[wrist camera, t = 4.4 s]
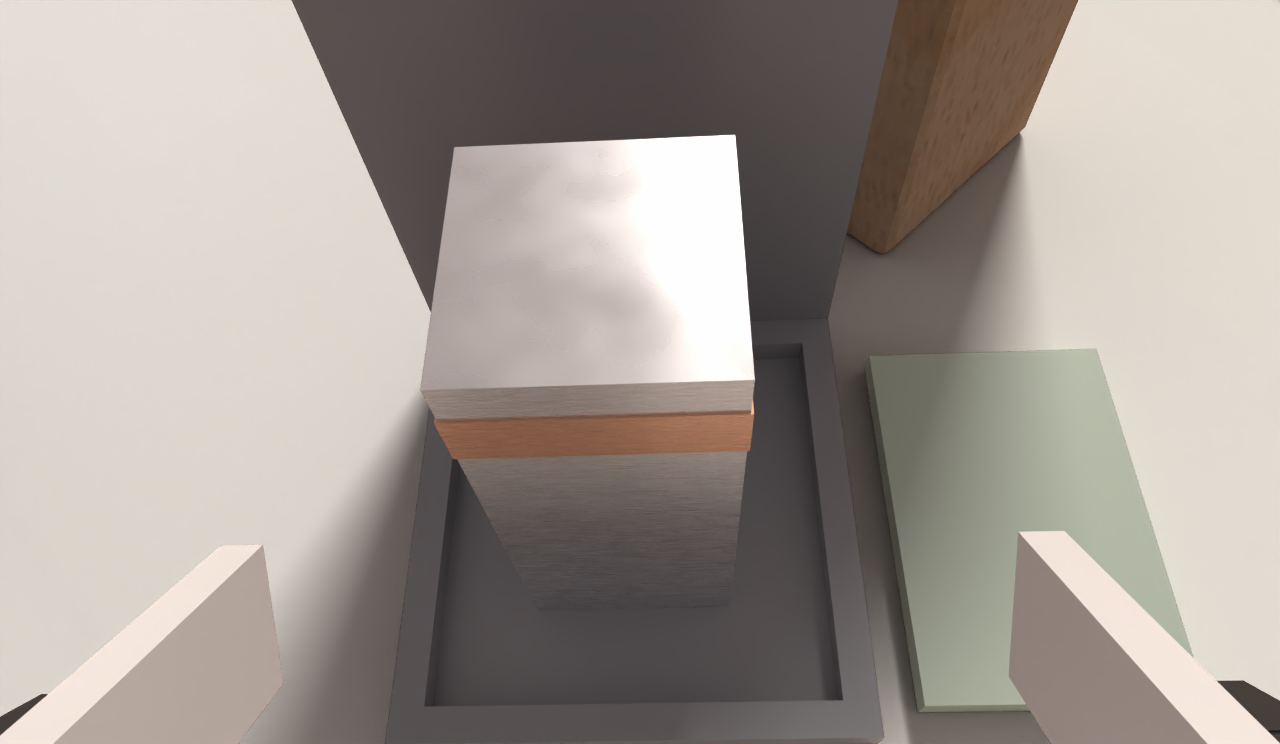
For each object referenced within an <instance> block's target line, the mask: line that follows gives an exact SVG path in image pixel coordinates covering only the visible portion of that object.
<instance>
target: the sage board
mask: <svg viewBox="0 0 1280 744" xmlns="http://www.w3.org/2000/svg"><path fill="white" fill-rule="evenodd" d="M865 374H866V381H867V387H868V394H869V400H870V406H871V413H872V419H873V426H874V432H875V439H876V445H877V452H878V458H879V465H880V471H881V477H882V484H883V490H884V497H885V503H886V510H887V516H888V523H889V529H890V535H891V542H892V548H893V555H894V561H895V568H896V574H897V581H898V587H899V594H900V600H901V606H902V613H903V619H904V626H905V632H906V639H907V645H908V652H909V658H910V664H911V671H912V677H913V684H914V690H915V697H916V703H917V710H918V712H973V711H1030V710H1029V708H1028V706H1027V705H1026V703H1025V702H1024V700H1023V699H1022V697H1021V695H1020V694H1019V692H1018V691H1017V689H1016V687H1015V686H1014V684H1013V683H1012V681H1011V679H1010V678H1009V661H1010V646H1011V631H1012V616H1013V602H1014V587H1015V572H1016V557H1017V543H1018V532H1031V531H1065V532H1066V533H1067V534H1068V535H1069V536H1070V537H1071V538H1072V539H1073V540H1074V541H1075V542H1076V543H1077V544H1078V545H1079V546H1080V547H1081V548H1082V549H1083V550H1084V551H1085V552H1086V553H1087V554H1088V555H1089V556H1090V557H1091V558H1092V559H1093V560H1094V561H1095V562H1096V563H1097V564H1098V565H1099V566H1100V567H1101V568H1102V569H1103V570H1104V571H1106V572H1107V573H1108V574H1109V575H1110V576H1111V577H1112V578H1113V579H1114V580H1115V581H1116V582H1117V583H1118V584H1119V585H1120V586H1121V587H1122V588H1123V589H1124V590H1125V591H1126V592H1127V593H1128V594H1129V595H1130V596H1131V597H1132V598H1133V599H1134V600H1135V601H1136V602H1137V603H1138V604H1139V605H1140V606H1141V607H1142V608H1143V609H1144V610H1145V611H1146V612H1147V613H1148V614H1149V615H1150V616H1151V617H1152V618H1153V619H1154V620H1155V621H1156V622H1157V623H1158V624H1159V625H1160V626H1161V627H1162V628H1163V629H1164V630H1165V631H1166V632H1167V633H1168V634H1169V635H1171V636H1172V637H1173V638H1174V639H1175V640H1176V641H1177V642H1178V643H1179V644H1180V645H1181V646H1182V647H1183V648H1184V649H1185V650H1186V651H1187V652H1188V653H1189V654H1190V655H1191V656H1192V657H1193V654H1192V651H1191V648H1190V645H1189V642H1188V638H1187V635H1186V632H1185V629H1184V626H1183V622H1182V619H1181V616H1180V613H1179V610H1178V607H1177V603H1176V600H1175V597H1174V594H1173V591H1172V587H1171V584H1170V581H1169V578H1168V575H1167V572H1166V568H1165V565H1164V562H1163V559H1162V556H1161V552H1160V549H1159V546H1158V543H1157V540H1156V537H1155V533H1154V530H1153V527H1152V524H1151V521H1150V517H1149V514H1148V511H1147V508H1146V505H1145V502H1144V498H1143V495H1142V492H1141V489H1140V486H1139V482H1138V479H1137V476H1136V473H1135V470H1134V467H1133V463H1132V460H1131V457H1130V454H1129V451H1128V447H1127V444H1126V441H1125V438H1124V435H1123V432H1122V428H1121V425H1120V422H1119V419H1118V416H1117V412H1116V409H1115V406H1114V403H1113V400H1112V397H1111V393H1110V390H1109V387H1108V384H1107V381H1106V377H1105V374H1104V371H1103V368H1102V365H1101V362H1100V358H1099V355H1098V352H1097V349H1068V350H1036V351H1005V352H974V353H942V354H911V355H879V356H869V358H868V362H867V365H866V368H865ZM1193 658H1194V657H1193Z"/></svg>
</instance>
